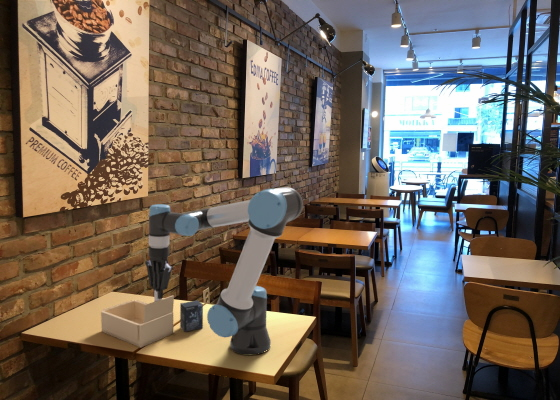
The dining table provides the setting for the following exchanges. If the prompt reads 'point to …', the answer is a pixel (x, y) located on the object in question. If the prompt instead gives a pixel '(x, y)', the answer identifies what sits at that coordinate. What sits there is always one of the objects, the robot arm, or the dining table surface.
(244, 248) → the robot arm
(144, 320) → the flap
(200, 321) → the box
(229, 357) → the dining table surface
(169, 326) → the carton
